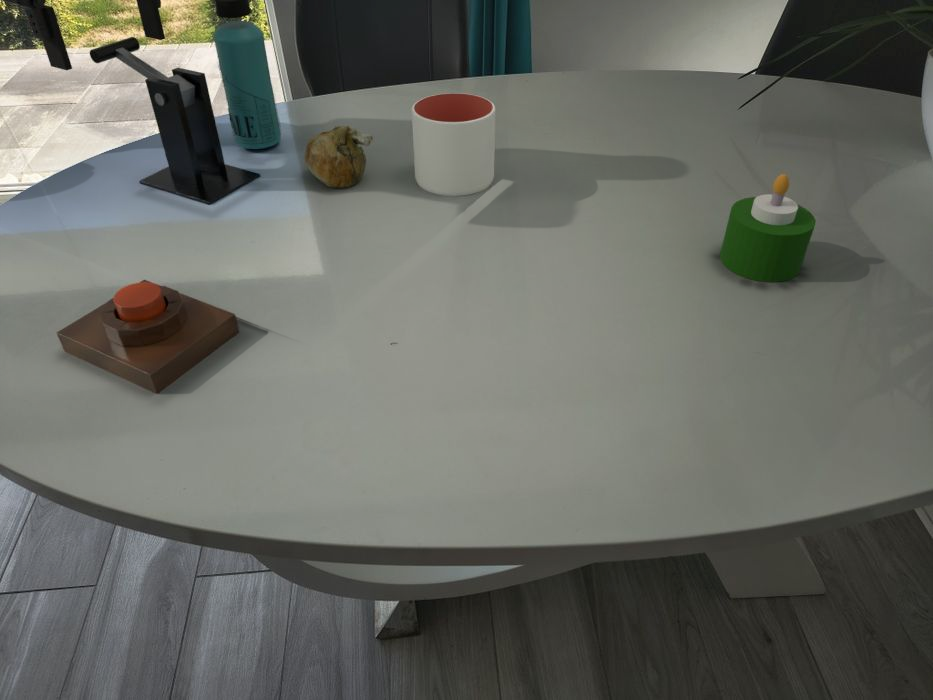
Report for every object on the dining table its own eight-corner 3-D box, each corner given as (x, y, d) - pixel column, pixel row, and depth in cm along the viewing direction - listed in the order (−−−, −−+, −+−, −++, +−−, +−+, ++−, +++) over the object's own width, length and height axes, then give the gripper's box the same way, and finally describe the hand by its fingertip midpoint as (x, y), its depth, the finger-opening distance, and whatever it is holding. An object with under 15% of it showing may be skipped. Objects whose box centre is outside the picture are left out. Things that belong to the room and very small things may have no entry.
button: (109, 315, 65) (103, 299, 64) (144, 293, 68) (139, 277, 67) (140, 328, 64) (134, 312, 63) (175, 305, 66) (170, 289, 65)
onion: (352, 165, 98) (346, 106, 93) (380, 188, 93) (375, 127, 88) (299, 179, 95) (290, 119, 90) (324, 203, 90) (316, 140, 85)
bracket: (141, 189, 93) (107, 79, 84) (194, 163, 99) (168, 57, 90) (211, 211, 88) (183, 97, 79) (262, 182, 94) (241, 73, 86)
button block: (64, 351, 67) (48, 316, 64) (150, 297, 74) (139, 263, 71) (157, 394, 62) (144, 358, 60) (239, 332, 69) (231, 297, 67)
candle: (785, 291, 74) (814, 201, 68) (707, 264, 78) (728, 178, 72) (810, 257, 79) (839, 170, 73) (736, 234, 83) (758, 150, 77)
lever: (90, 62, 86) (88, 43, 85) (130, 49, 90) (130, 30, 89) (168, 114, 85) (168, 96, 83) (206, 98, 89) (207, 81, 87)
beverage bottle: (287, 140, 105) (262, -12, 92) (280, 159, 100) (253, 1, 87) (240, 141, 104) (209, -11, 92) (232, 161, 99) (197, 2, 87)
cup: (444, 210, 88) (442, 129, 82) (400, 180, 94) (395, 104, 88) (509, 188, 93) (512, 110, 86) (463, 161, 99) (462, 87, 93)
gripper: (-47, -154, 65) (38, 88, 78) (170, -169, 82) (210, 31, 95) (-96, -158, 67) (-6, 75, 81) (124, -172, 84) (168, 22, 98)
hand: (111, 52), depth 88 cm, fingers open, 13 cm apart
